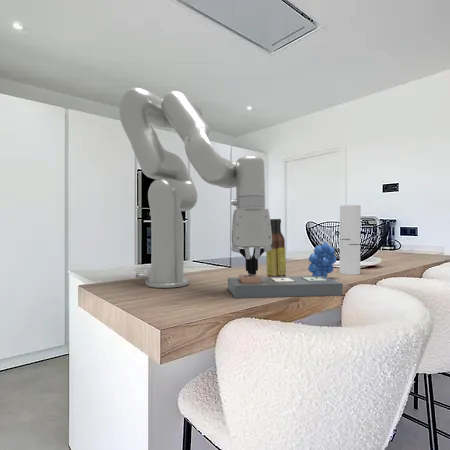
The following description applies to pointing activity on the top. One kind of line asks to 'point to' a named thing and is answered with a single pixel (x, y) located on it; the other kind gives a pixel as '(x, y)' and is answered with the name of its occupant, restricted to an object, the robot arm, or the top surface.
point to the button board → (284, 287)
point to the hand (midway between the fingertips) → (251, 273)
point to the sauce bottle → (276, 252)
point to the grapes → (322, 260)
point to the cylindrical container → (350, 239)
